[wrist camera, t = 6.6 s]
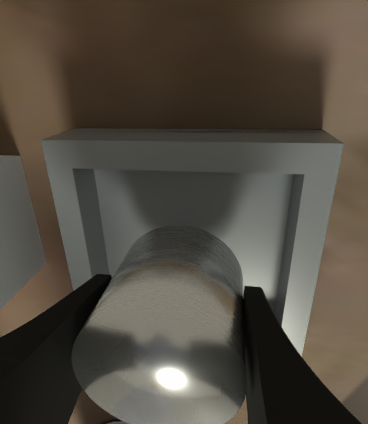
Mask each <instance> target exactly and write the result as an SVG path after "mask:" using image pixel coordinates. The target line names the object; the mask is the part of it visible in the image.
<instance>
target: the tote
mask: <svg viewBox="0 0 368 424" xmlns="http://www.w3.org/2000/svg"><path fill="white" fill-rule="evenodd" d="M41 143H42V148H43V152H44V157H45V162H46V166H47V171H48V176H49V180H50V185H51V190H52V194H53V199H54V204H55V208H56V213H57V217H58V222H59V227H60V231H61V236H62V241H63V245H64V250H65V255H66V259H67V264H68V269H69V273H70V278H71V283H72V287H73V291H74V290H76V289H77V288H78V287H80V286H81V285H83V284H84V283H85V282H87V281H88V280H89V279H91V278H92V277H94V276H95V275H96V274H106V275H111V277H112V278H113V276H114V275H115V273H116V271H117V270H118V268H119V266H120V265H121V263H122V261H123V260H124V258H125V256H126V255H127V253H128V251H129V250H130V248H131V247H132V245H133V244H134V243H135V242H136V240H137V239H139V238H140V237H141V236H142V235H144V234H146V233H147V232H149V231H151V230H154V229H156V228H160V227H164V226H171V225H182V226H190V227H194V228H198V229H201V230H204V231H206V232H208V233H210V234H212V235H214V236H216V237H217V238H219V239H220V240H221V241H223V242H224V243H225V244H226V245H227V246H228V247H229V248H230V249H231V250H232V252H233V253H234V255H235V256H236V258H237V260H238V262H239V264H240V267H241V270H242V275H243V297H244V286H255V287H261V288H262V289H263V291H264V294H265V296H266V299H267V301H268V303H269V305H270V307H271V309H272V311H273V313H274V315H275V316H276V318H277V320H278V322H279V323H280V325H281V327H282V328H283V330H284V332H285V333H286V335H287V336H288V338H289V339H290V341H291V342H292V344H293V345H294V347H295V348H296V350H297V351H298V353H299V354H300V355H301V357H302V352H303V347H304V342H305V337H306V332H307V327H308V322H309V317H310V312H311V307H312V302H313V297H314V291H315V286H316V281H317V276H318V271H319V266H320V261H321V256H322V251H323V246H324V241H325V236H326V231H327V226H328V221H329V216H330V211H331V206H332V201H333V196H334V191H335V186H336V181H337V176H338V171H339V166H340V161H341V156H342V151H343V145H344V143H342V142H341V141H339V140H338V139H336V138H335V137H333V136H332V135H330V134H329V133H327V132H325V131H324V130H303V129H107V128H74V129H71V130H69V131H66V132H63V133H60V134H57V135H54V136H51V137H48V138H46V139H43V140H41Z"/></svg>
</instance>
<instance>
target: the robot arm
mask: <svg viewBox="0 0 368 424" xmlns="http://www.w3.org/2000/svg"><path fill="white" fill-rule="evenodd" d="M111 280H112V277H111V275H106V274H96V275H95V276H94V277H92V278H91V279H89V280H88V281H87V282H85V283H84V284H83V285H81V286H80V287H78V288H77V289H76V290H74V291H73V292H72V293H70V294H69V295H68V296H66V297H65V298H63V299H62V300H61V301H59V302H58V303H56V304H55V305H53V306H52V307H50V308H49V309H47V310H46V311H44V312H43V313H41V314H40V315H38V316H37V317H35V318H34V319H32V320H31V321H29V322H27V323H26V324H24V325H22V326H21V327H19V328H17V329H15V330H13V331H12V332H10V333H8V334H6V335H4V336H2V337H0V424H68V422H69V419H70V417H71V414H72V412H73V409H74V406H75V404H76V401H77V399H78V397H79V394H80V392H81V390H82V387H81V385H80V384H79V382H78V380H77V378H76V376H75V373H74V370H73V366H72V349H73V345H74V342H75V340H76V338H77V336H78V334H79V333H80V331H81V329H82V328H83V326H84V324H85V323H86V321H87V319H88V318H89V316H90V314H91V313H92V311H93V309H94V308H95V306H96V304H97V303H98V301H99V299H100V298H101V296H102V294H103V293H104V291H105V289H106V288H107V286H108V285H109V283H110V281H111ZM243 302H244V332H245V363H246V401H247V411H248V424H361V423H360V422H359V421H358V420H357V419H356V418H355V417H354V416H353V415H352V414H351V413H350V412H349V411H348V410H347V409H346V408H345V407H344V406H343V405H342V403H341V402H340V401H339V400H338V399H337V398H336V397H335V396H334V395H333V394H332V393H331V392H330V391H329V390H328V389H327V387H326V386H325V385H324V384H323V383H322V382H321V380H320V379H319V378H318V377H317V376H316V375H315V373H314V372H313V371H312V370H311V368H310V367H309V366H308V365H307V363H306V362H305V361H304V359H303V358H302V357H301V355H300V354H299V353H298V351H297V350H296V348H295V347H294V345H293V344H292V342H291V341H290V339H289V338H288V336H287V335H286V333H285V332H284V330H283V328H282V327H281V325H280V323H279V322H278V320H277V318H276V316H275V315H274V313H273V311H272V309H271V307H270V305H269V303H268V301H267V299H266V296H265V294H264V291H263V289H262V288H261V287H255V286H244V297H243Z"/></svg>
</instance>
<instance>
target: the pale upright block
mask: <svg viewBox="0 0 368 424" xmlns="http://www.w3.org/2000/svg"><path fill="white" fill-rule="evenodd" d="M46 263H47V261H46V257H45V253H44V249H43V245H42V241H41V237H40V233H39V229H38V225H37V221H36V217H35V213H34V209H33V205H32V201H31V197H30V193H29V189H28V185H27V181H26V177H25V173H24V169H23V165H22V161H21V157H20V156H6V155H0V309H1V308H2V307H3V306H4V305H5V304H6V303H7V302H8V301H9V300H10V299H11V298H12V297H13V296H14V295H15V294H16V293H17V292H18V291H19V290H20V289H21V288H22V287H23V286H24V285H25V284H26V283H27V282H28V281H29V280H30V279H31V278H32V277H33V276H34V275H35V274H36V273H37V272H38V271H39V270H40V269H41V268H42V267H43V266H44V265H45V264H46Z"/></svg>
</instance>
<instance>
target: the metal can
mask: <svg viewBox="0 0 368 424" xmlns="http://www.w3.org/2000/svg"><path fill="white" fill-rule="evenodd" d="M72 366H73V370H74V373H75V376H76V378H77V380H78V382H79V384H80V385H81V387H82V388H83V390H84V391H85V392H86V394H87V395H88V396H89V397H90V398H91V399H92V400H93V401H94V402H95V403H96V404H97V405H99V406H100V407H101V408H102V409H104V410H105V411H106V412H108V413H110V414H111V415H113V416H114V417H116V418H118V419H120V420H122V421H124V422H126V423H128V424H224V423H226V422H227V421H228V420H230V419H231V418H232V417H233V416H234V415H235V414H236V413H237V412H238V410H239V409H240V407H241V406H242V404H243V401H244V399H245V394H246V363H245V332H244V302H243V275H242V270H241V267H240V264H239V262H238V260H237V258H236V256H235V255H234V253H233V252H232V250H231V249H230V248H229V247H228V246H227V245H226V244H225V243H224V242H223V241H221V240H220V239H219V238H217V237H216V236H214V235H212V234H210V233H208V232H206V231H204V230H201V229H198V228H194V227H190V226H182V225H171V226H164V227H160V228H156V229H154V230H151V231H149V232H147V233H146V234H144V235H142V236H141V237H140V238H139V239H137V240H136V242H135V243H134V244H133V245H132V247H131V248H130V250H129V251H128V253H127V255H126V256H125V258H124V260H123V261H122V263H121V265H120V266H119V268H118V270H117V271H116V273H115V275H114V276H113V278H112V280H111V281H110V283H109V285H108V286H107V288H106V289H105V291H104V293H103V294H102V296H101V298H100V299H99V301H98V303H97V304H96V306H95V308H94V309H93V311H92V313H91V314H90V316H89V318H88V319H87V321H86V323H85V324H84V326H83V328H82V329H81V331H80V333H79V334H78V336H77V338H76V340H75V342H74V345H73V349H72Z"/></svg>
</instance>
